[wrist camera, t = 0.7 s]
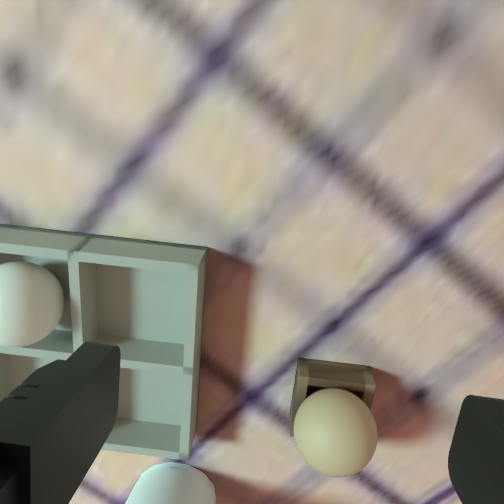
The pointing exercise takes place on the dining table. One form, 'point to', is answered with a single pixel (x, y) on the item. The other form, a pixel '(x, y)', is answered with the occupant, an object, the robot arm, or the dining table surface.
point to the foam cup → (172, 486)
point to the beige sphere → (335, 432)
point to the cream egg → (28, 303)
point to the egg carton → (122, 327)
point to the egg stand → (330, 382)
